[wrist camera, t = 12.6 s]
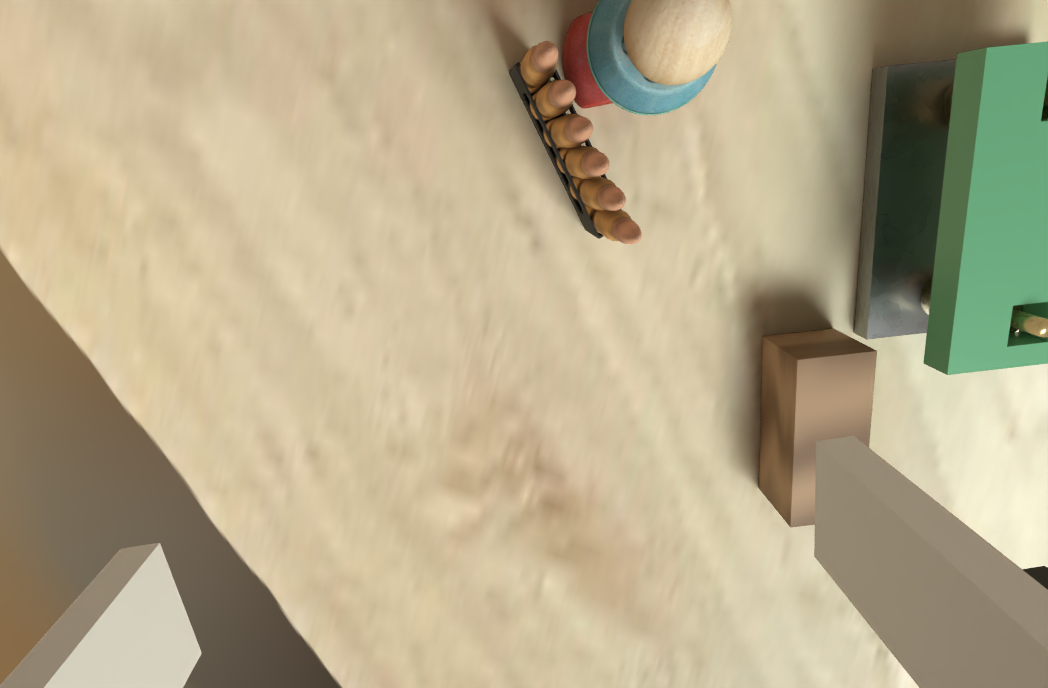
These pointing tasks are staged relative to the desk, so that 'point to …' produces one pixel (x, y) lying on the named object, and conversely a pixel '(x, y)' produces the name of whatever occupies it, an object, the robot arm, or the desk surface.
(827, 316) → the desk surface
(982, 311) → the board
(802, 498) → the stand
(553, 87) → the ammunition clip
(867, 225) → the chassis
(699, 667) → the desk surface
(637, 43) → the colourful wooden toy set
